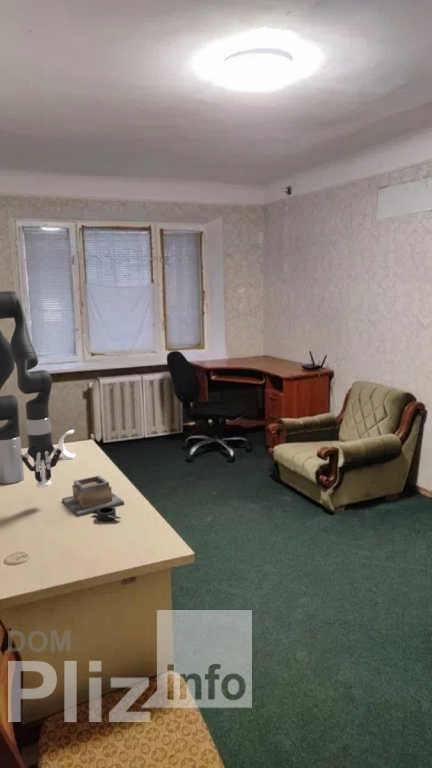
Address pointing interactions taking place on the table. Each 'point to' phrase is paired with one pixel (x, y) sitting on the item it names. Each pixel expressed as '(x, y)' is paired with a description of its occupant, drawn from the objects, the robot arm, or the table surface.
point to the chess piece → (43, 477)
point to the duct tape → (106, 514)
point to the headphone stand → (61, 446)
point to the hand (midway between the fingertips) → (43, 480)
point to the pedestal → (91, 496)
